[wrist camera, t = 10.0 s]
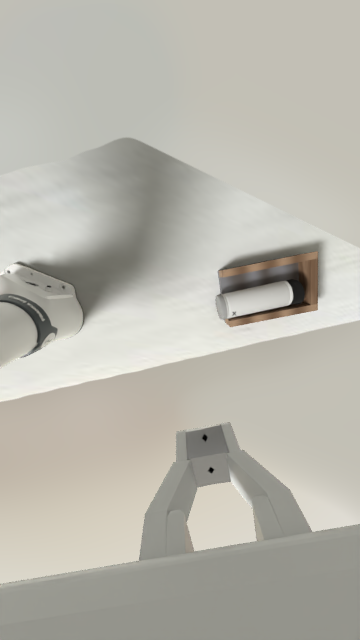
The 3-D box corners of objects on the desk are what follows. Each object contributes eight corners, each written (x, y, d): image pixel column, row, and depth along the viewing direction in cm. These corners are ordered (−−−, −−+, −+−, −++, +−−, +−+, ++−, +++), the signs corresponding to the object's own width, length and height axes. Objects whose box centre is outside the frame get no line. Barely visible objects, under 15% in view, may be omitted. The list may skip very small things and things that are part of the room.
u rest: (224, 321, 49) (230, 327, 44) (217, 270, 45) (223, 270, 40) (302, 306, 48) (317, 310, 43) (301, 253, 45) (317, 251, 40)
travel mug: (224, 323, 41) (308, 305, 41) (219, 296, 40) (306, 276, 39) (218, 318, 47) (291, 302, 47) (214, 294, 46) (289, 278, 45)
